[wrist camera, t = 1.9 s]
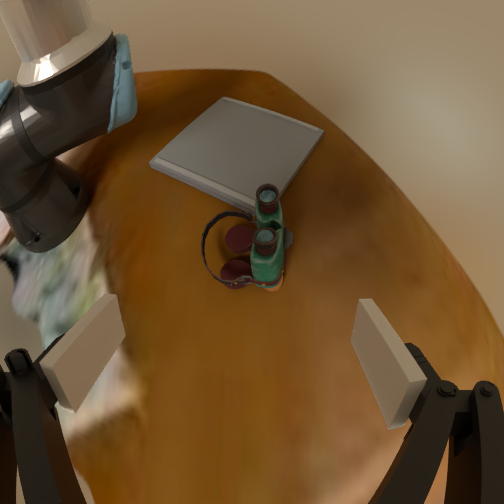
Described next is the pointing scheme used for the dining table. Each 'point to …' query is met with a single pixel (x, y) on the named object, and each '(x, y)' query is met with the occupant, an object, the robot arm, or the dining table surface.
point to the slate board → (238, 151)
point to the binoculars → (256, 244)
